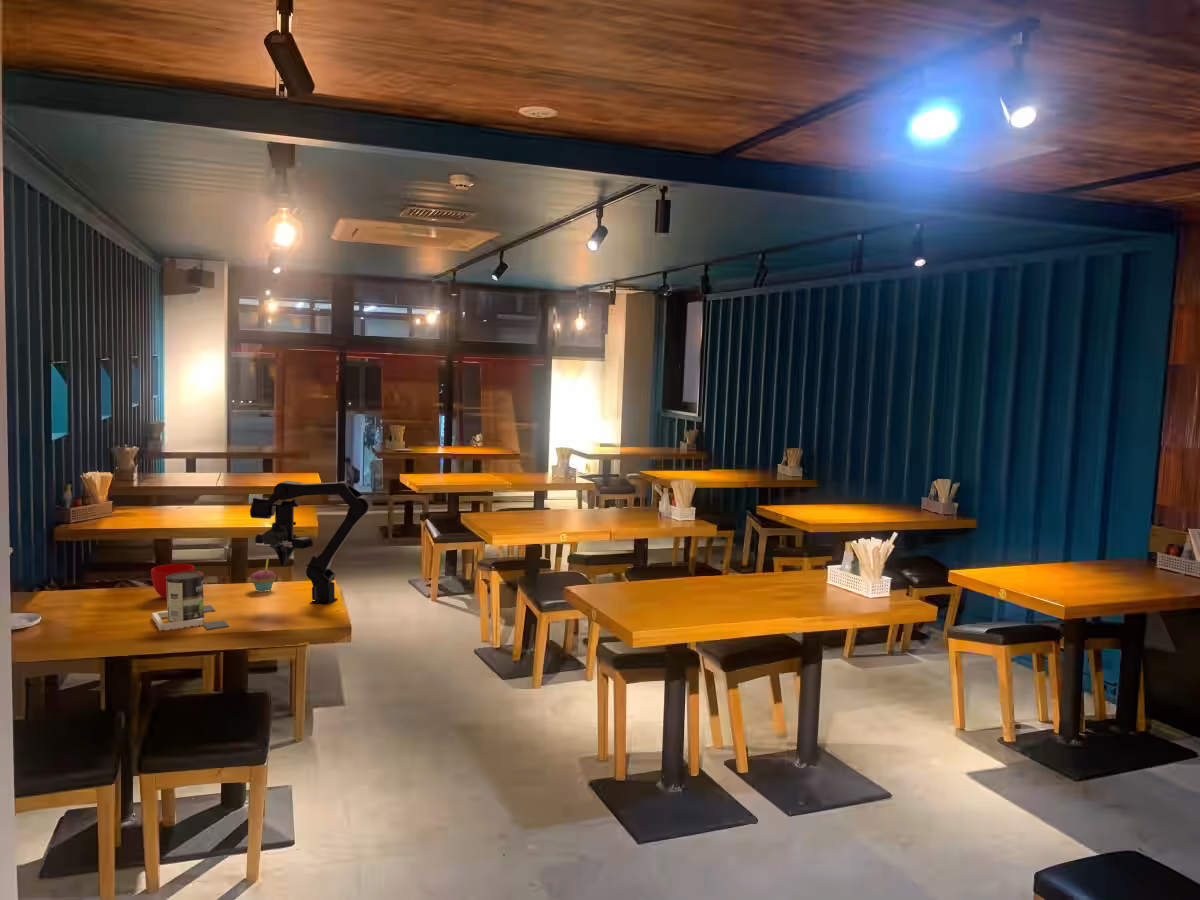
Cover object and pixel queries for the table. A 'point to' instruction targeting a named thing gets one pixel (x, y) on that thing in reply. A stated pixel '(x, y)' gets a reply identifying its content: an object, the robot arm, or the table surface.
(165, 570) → the ceramic cup
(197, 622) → the dock
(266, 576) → the cupcake
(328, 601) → the robot arm
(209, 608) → the pair of grey pads
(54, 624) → the table surface
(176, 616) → the coffee can
